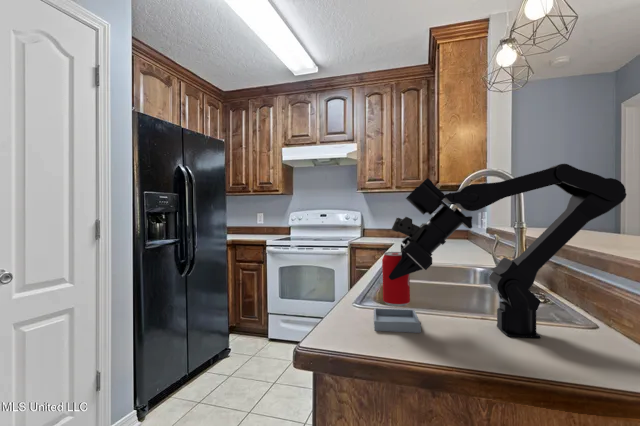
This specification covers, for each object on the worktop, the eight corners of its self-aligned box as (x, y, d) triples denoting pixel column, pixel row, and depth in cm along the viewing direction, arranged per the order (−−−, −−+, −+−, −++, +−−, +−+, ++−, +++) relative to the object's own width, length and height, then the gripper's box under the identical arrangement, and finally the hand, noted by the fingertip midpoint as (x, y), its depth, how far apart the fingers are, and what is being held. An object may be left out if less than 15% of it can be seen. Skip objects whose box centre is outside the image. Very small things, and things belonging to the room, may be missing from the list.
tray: (414, 317, 81) (414, 309, 81) (420, 332, 71) (420, 323, 71) (373, 316, 83) (373, 308, 83) (374, 330, 73) (374, 321, 73)
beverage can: (411, 301, 79) (411, 252, 79) (407, 308, 73) (407, 255, 73) (386, 299, 81) (385, 251, 81) (380, 306, 75) (379, 254, 75)
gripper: (410, 205, 85) (368, 247, 88) (414, 203, 67) (361, 256, 69) (442, 235, 83) (399, 277, 86) (456, 242, 65) (400, 295, 68)
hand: (390, 275), depth 77 cm, fingers closed on beverage can, 6 cm apart
